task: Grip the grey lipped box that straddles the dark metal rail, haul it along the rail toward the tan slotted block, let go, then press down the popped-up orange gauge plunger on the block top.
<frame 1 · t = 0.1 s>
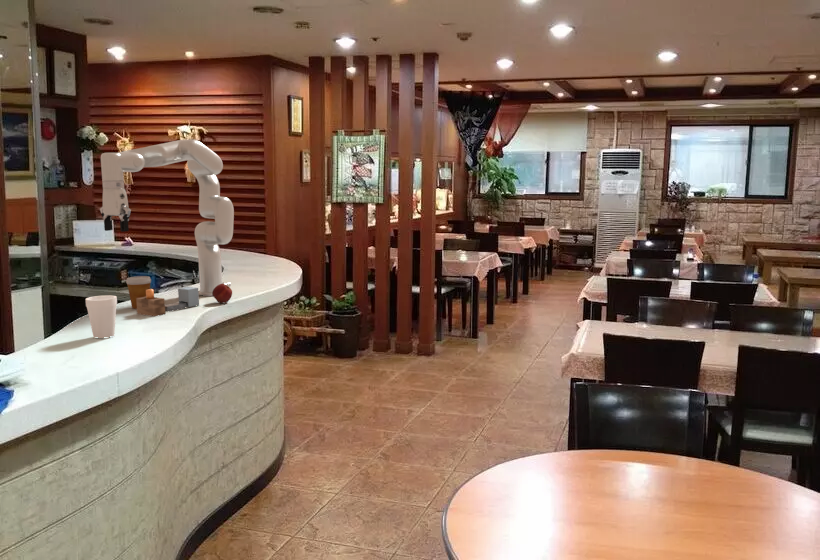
hand: (116, 230, 282), 31 cm above the table, tool pointing down, fingers open, 9 cm apart
apple: (222, 303, 302), on the table
rail: (181, 307, 292), on the table
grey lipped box: (188, 296, 295), point 4 cm above the table, slide at 0.0 cm
tan slotted block: (151, 313, 280), on the table
gauge plunger: (150, 294, 279), point 8 cm above the table, slide at 0.0 cm
disposable coffee cup: (140, 308, 294), on the table
foam cup: (104, 337, 243), on the table
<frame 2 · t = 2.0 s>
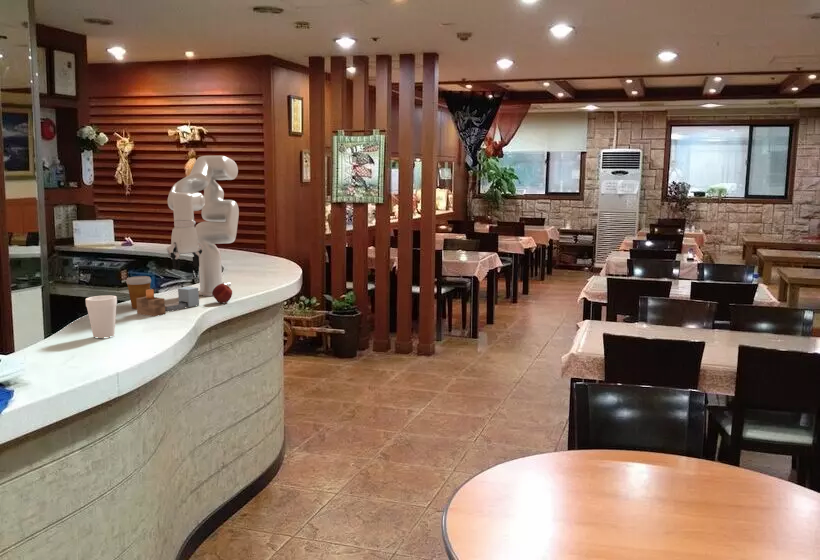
hand: (186, 267, 293), 16 cm above the table, tool pointing down, fingers open, 9 cm apart
nothing on the table moved.
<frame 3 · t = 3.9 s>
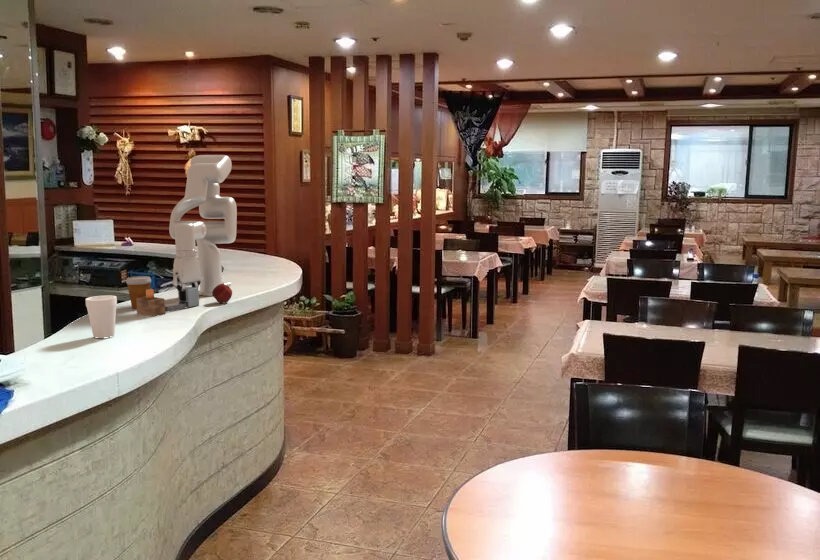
hand: (188, 299, 295), 3 cm above the table, tool pointing down, fingers closed on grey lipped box, 5 cm apart
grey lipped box: (188, 296, 295), point 4 cm above the table, slide at 0.0 cm, touching gripper
everything else where it was.
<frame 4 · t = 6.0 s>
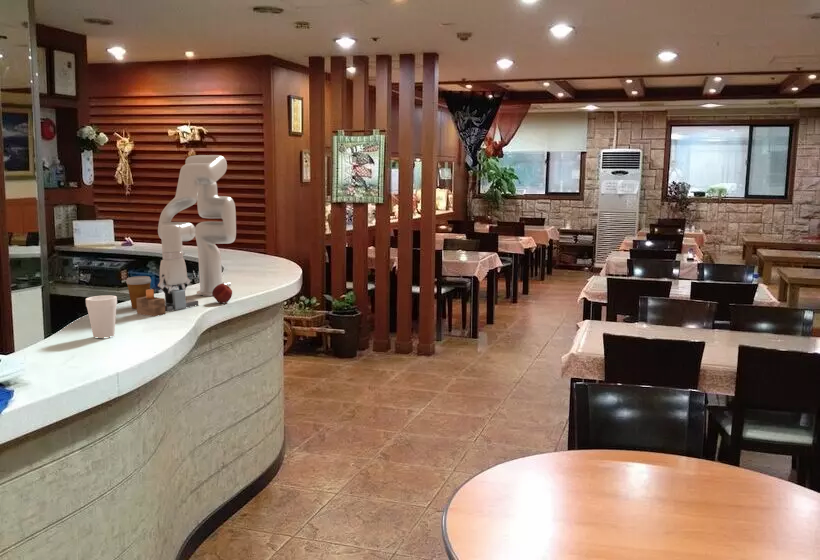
hand: (175, 301, 290), 3 cm above the table, tool pointing down, fingers closed on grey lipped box, 5 cm apart
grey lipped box: (175, 299, 289), point 4 cm above the table, slide at 6.5 cm, touching gripper
everything else where it was.
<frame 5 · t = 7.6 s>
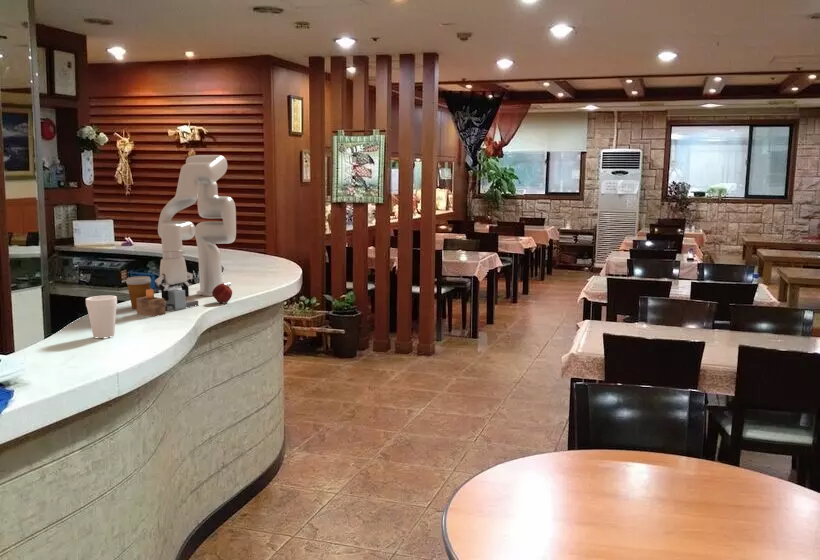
hand: (175, 298, 290), 4 cm above the table, tool pointing down, fingers open, 9 cm apart
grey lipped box: (175, 299, 289), point 4 cm above the table, slide at 6.5 cm
everything else where it was.
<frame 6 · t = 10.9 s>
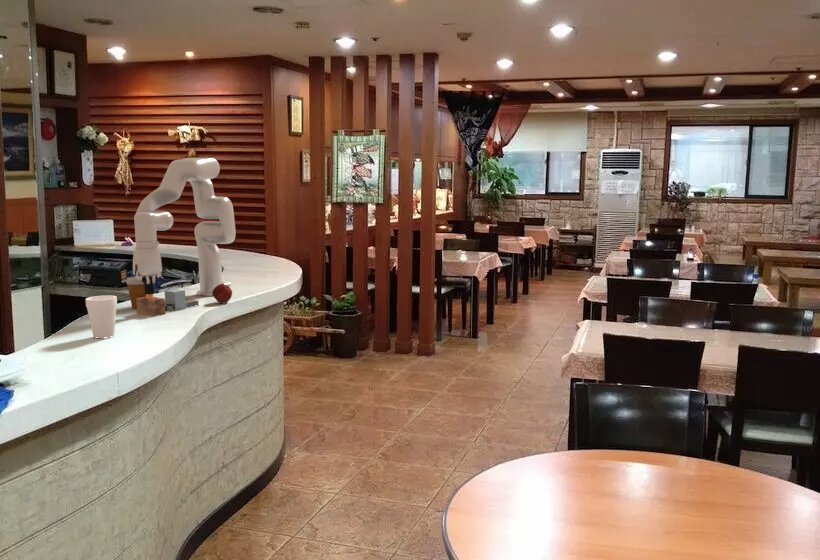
hand: (149, 293, 279), 8 cm above the table, tool pointing down, fingers closed
gauge plunger: (150, 298, 280), point 6 cm above the table, slide at 1.6 cm, touching gripper
everything else where it was.
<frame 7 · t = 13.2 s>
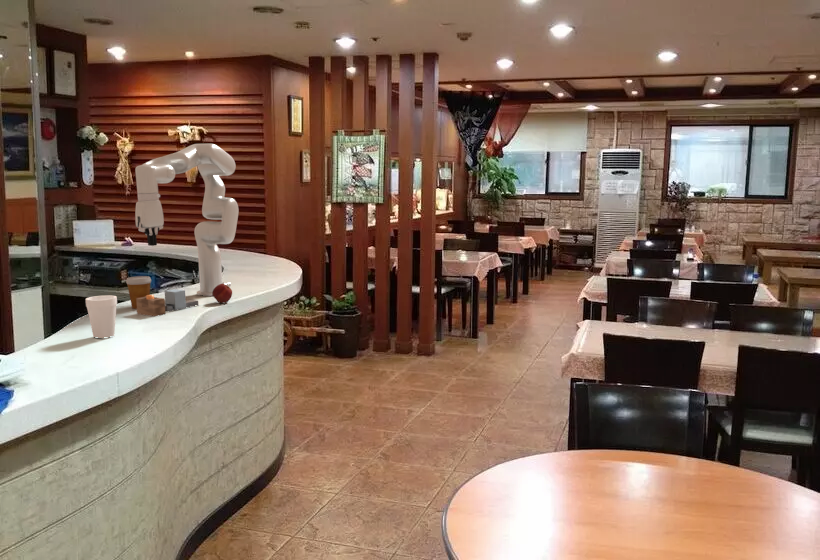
hand: (152, 245, 286), 25 cm above the table, tool pointing down, fingers closed
gauge plunger: (150, 299, 280), point 5 cm above the table, slide at 2.1 cm
everything else where it was.
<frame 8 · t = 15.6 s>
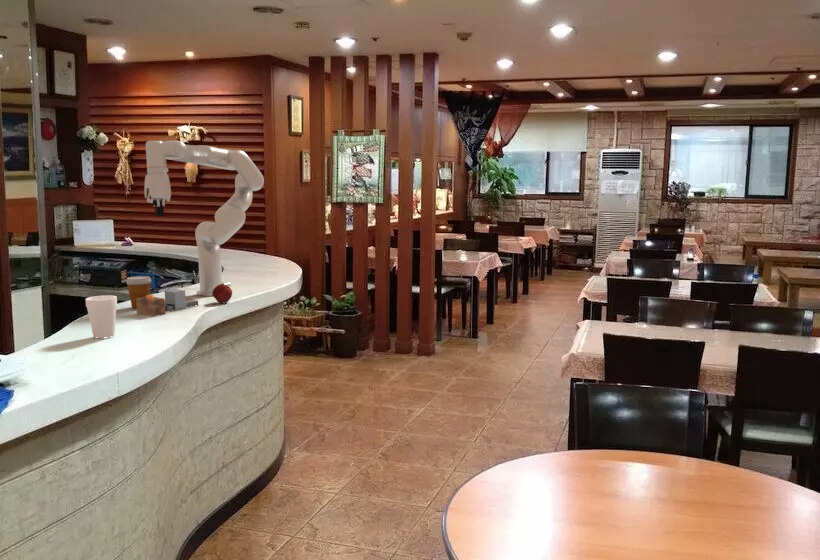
hand: (159, 216, 306), 35 cm above the table, tool pointing down, fingers closed
nothing on the table moved.
at the end: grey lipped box slide at 6.5 cm; gauge plunger slide at 2.1 cm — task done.
